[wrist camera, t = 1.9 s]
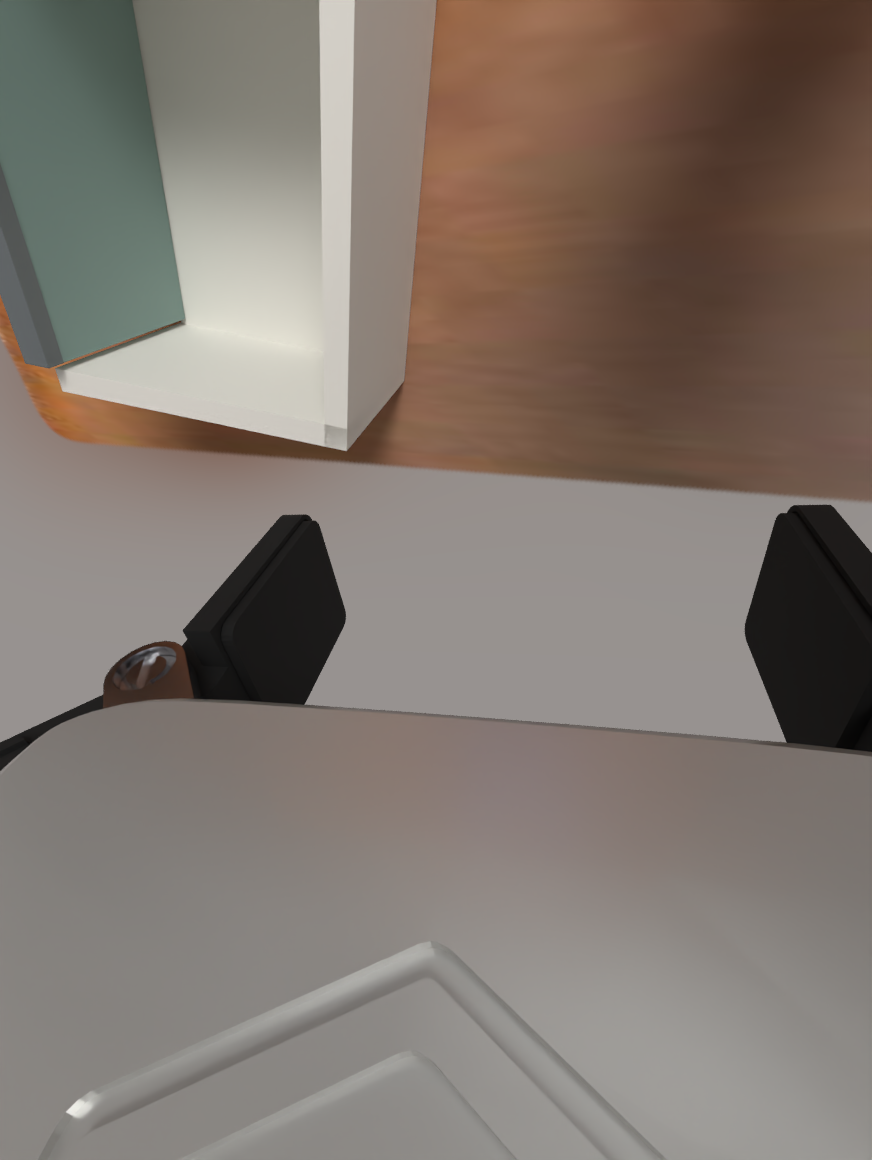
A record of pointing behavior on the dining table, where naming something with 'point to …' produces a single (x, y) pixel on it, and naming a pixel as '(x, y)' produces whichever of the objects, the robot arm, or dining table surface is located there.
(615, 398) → the dining table surface
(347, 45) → the teal front storage box
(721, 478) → the dining table surface
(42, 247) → the panel
